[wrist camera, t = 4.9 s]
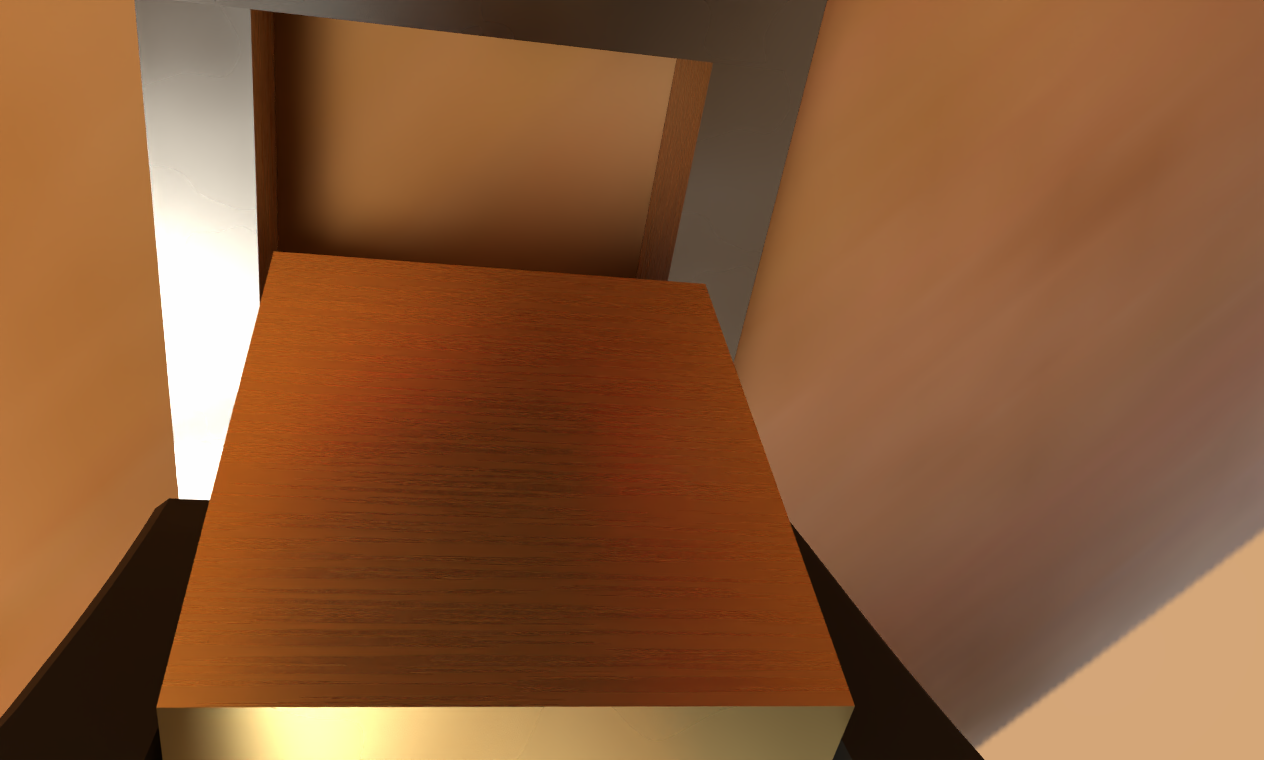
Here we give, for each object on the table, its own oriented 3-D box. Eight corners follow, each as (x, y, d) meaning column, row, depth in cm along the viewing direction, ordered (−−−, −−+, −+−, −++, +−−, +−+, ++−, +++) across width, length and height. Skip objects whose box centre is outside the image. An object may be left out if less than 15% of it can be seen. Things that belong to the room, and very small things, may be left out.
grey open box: (626, 645, 23) (663, 872, 19) (217, 642, 22) (165, 889, 18) (788, -51, 15) (909, 87, 11) (163, -139, 14) (45, -14, 10)
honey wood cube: (638, 578, 13) (720, 1026, 9) (280, 570, 12) (198, 1058, 8) (704, 284, 11) (854, 707, 7) (273, 250, 10) (155, 707, 6)
